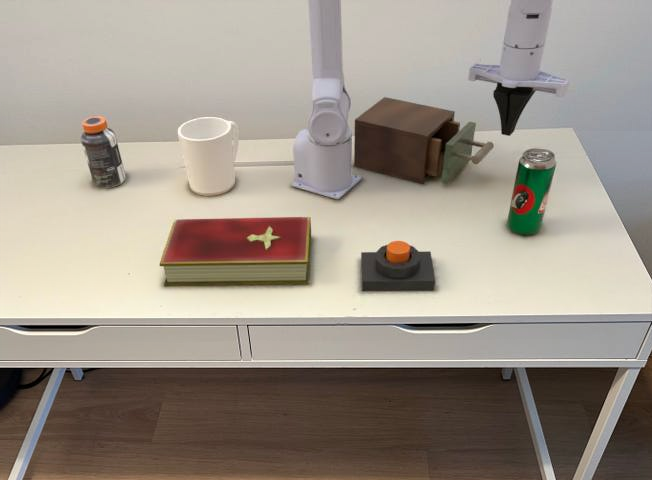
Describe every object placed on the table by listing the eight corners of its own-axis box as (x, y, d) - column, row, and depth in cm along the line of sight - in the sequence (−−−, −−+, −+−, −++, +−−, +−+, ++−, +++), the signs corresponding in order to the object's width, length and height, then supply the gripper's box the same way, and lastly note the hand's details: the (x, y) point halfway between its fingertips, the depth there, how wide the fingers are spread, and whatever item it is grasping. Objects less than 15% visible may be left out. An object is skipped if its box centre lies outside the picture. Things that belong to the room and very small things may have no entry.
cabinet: (449, 158, 119) (454, 111, 113) (423, 184, 113) (427, 136, 107) (382, 142, 125) (384, 96, 119) (354, 165, 118) (354, 119, 113)
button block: (361, 290, 92) (362, 270, 90) (361, 261, 97) (361, 241, 95) (434, 290, 92) (436, 269, 89) (429, 260, 97) (431, 240, 94)
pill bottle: (133, 177, 120) (118, 116, 112) (110, 191, 117) (93, 130, 109) (109, 170, 123) (93, 110, 115) (86, 184, 119) (68, 123, 111)
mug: (205, 203, 112) (196, 146, 105) (178, 184, 117) (167, 128, 110) (257, 180, 117) (251, 124, 110) (228, 163, 122) (221, 108, 115)
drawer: (493, 165, 114) (500, 127, 109) (471, 189, 109) (477, 151, 104) (406, 144, 121) (409, 108, 117) (381, 166, 116) (383, 129, 111)
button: (386, 264, 91) (387, 253, 90) (385, 251, 94) (386, 240, 92) (410, 264, 91) (411, 253, 90) (408, 250, 93) (409, 240, 92)
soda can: (541, 237, 99) (559, 164, 91) (506, 235, 100) (521, 162, 92) (539, 219, 103) (556, 147, 94) (505, 217, 104) (519, 145, 95)
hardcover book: (179, 239, 104) (174, 216, 102) (311, 237, 103) (310, 213, 100) (164, 286, 96) (159, 262, 93) (308, 284, 94) (307, 260, 91)
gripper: (465, 43, 96) (454, 133, 105) (565, 59, 89) (544, 153, 99) (484, 28, 100) (472, 116, 109) (582, 42, 93) (560, 134, 103)
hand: (507, 132), depth 104 cm, fingers closed
